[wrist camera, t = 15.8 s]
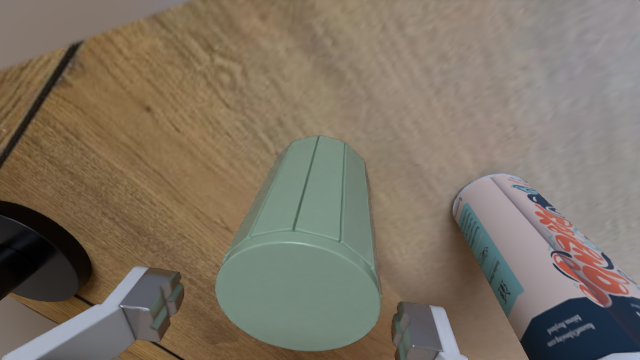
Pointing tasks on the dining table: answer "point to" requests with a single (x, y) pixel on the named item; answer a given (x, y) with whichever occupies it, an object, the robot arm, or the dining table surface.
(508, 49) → the dining table surface
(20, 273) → the holder
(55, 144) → the dining table surface
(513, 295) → the beer can
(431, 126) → the dining table surface
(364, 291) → the green fluted cylinder
